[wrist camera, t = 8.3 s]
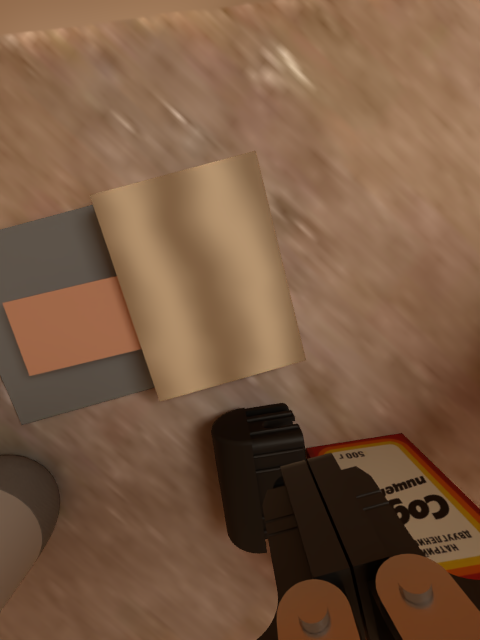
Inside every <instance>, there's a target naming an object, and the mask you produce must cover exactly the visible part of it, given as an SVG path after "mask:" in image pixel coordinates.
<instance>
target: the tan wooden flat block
mask: <svg viewBox="0 0 480 640" xmlns="http://www.w3.org/2000/svg"><path fill="white" fill-rule="evenodd" d="M90 198H91V201H92V204H93V207H94V210H95V213H96V216H97V219H98V221H99V224H100V227H101V230H102V233H103V236H104V239H105V242H106V245H107V248H108V251H109V254H110V257H111V260H112V263H113V266H114V269H115V272H116V275H117V277H118V280H119V283H120V286H121V289H122V292H123V295H124V298H125V301H126V304H127V307H128V310H129V313H130V316H131V319H132V322H133V325H134V328H135V331H136V333H137V336H138V339H139V342H140V345H141V348H142V351H143V354H144V357H145V360H146V363H147V366H148V369H149V372H150V375H151V378H152V381H153V384H154V386H155V389H156V392H157V395H158V398H159V401H164V400H168V399H171V398H175V397H178V396H182V395H185V394H189V393H192V392H196V391H199V390H203V389H206V388H210V387H213V386H217V385H221V384H224V383H228V382H231V381H235V380H238V379H242V378H245V377H249V376H252V375H256V374H259V373H263V372H266V371H270V370H273V369H277V368H281V367H284V366H288V365H291V364H295V363H298V362H302V361H305V360H306V358H305V354H304V350H303V346H302V341H301V337H300V333H299V329H298V325H297V321H296V316H295V312H294V308H293V304H292V300H291V296H290V291H289V287H288V283H287V279H286V275H285V271H284V267H283V262H282V258H281V254H280V250H279V246H278V242H277V237H276V233H275V229H274V225H273V221H272V217H271V212H270V208H269V204H268V200H267V196H266V192H265V187H264V183H263V179H262V175H261V171H260V167H259V162H258V158H257V154H256V151H253V152H249V153H245V154H242V155H238V156H234V157H230V158H227V159H223V160H219V161H216V162H212V163H208V164H204V165H201V166H197V167H193V168H190V169H186V170H182V171H178V172H175V173H171V174H167V175H164V176H160V177H156V178H152V179H149V180H145V181H141V182H138V183H134V184H130V185H126V186H123V187H119V188H115V189H111V190H108V191H104V192H100V193H97V194H93V195H90Z"/></svg>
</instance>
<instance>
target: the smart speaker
mask: <svg viewBox="0 0 480 640" xmlns="http://www.w3.org/2000/svg"><path fill="white" fill-rule="evenodd" d="M59 508H60V496H59V490H58V487H57V484H56V482H55V480H54V478H53V477H52V475H51V474H50V473H49V472H48V470H46V469H45V468H44V467H43V466H42V465H40V464H39V463H37V462H35V461H33V460H31V459H29V458H26V457H22V456H16V455H2V456H0V612H1V610H2V609H3V608H4V606H5V605H6V603H7V602H8V600H9V599H10V597H11V596H12V595H13V593H14V592H15V590H16V589H17V587H18V586H19V584H20V583H21V582H22V580H23V579H24V577H25V576H26V574H27V573H28V571H29V570H30V569H31V567H32V566H33V564H34V563H35V561H36V560H37V558H38V557H39V555H40V553H41V552H42V550H43V549H44V547H45V545H46V544H47V542H48V540H49V538H50V536H51V534H52V532H53V530H54V527H55V525H56V522H57V518H58V514H59Z"/></svg>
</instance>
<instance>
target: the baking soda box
mask: <svg viewBox="0 0 480 640" xmlns="http://www.w3.org/2000/svg"><path fill="white" fill-rule="evenodd" d="M306 450H307V459H309V458H313V457H317V456H320V455H324V454H328V453H332V454H333V456H334V458H335V459H336V461H337V463H338V465H339V467H340V468H341V470H343V469H347V468H350V467H354V466H357V467H358V468H360V469H361V470H363V471H364V472H366V473H368V474H369V475H371V476H372V478H373V479H374V481H375V482H376V484H377V485H378V487H379V488H380V490H381V493H383V494H384V496H385V497H386V499H387V500H388V502H389V505H391V506H392V508H393V509H394V511H395V512H396V514H397V515H398V517H399V518H400V520H401V521H402V523H403V524H404V526H405V527H406V529H407V530H408V532H409V533H410V535H411V536H412V538H413V539H414V541H415V542H416V543H417V545H418V546H419V548H420V549H421V551H422V552H423V554H424V555H425V556H426V557H427V558H429V559H431V560H433V561H435V562H436V563H438V564H439V565H441V566H442V567H443V568H444V569H445V570H446V571H447V572H448V573H450V574H453V575H456V576H459V577H463V578H467V579H475V580H480V509H479V508H478V507H477V506H476V505H475V504H474V503H473V502H472V501H471V500H470V499H469V498H468V497H467V496H466V495H465V494H464V493H463V492H462V491H461V490H460V489H459V488H458V487H457V486H456V485H455V484H454V483H452V482H451V481H450V480H449V479H448V478H447V477H446V476H445V475H444V474H443V473H442V472H441V471H440V470H439V469H438V468H437V467H436V466H435V465H434V464H433V463H432V462H431V461H430V460H429V459H428V458H427V457H426V456H425V455H424V454H423V453H422V452H421V451H420V450H419V449H418V448H417V447H416V446H415V445H414V444H413V443H411V442H410V441H409V440H408V439H407V438H406V437H405V436H404V435H403V434H402V433H400V434H394V435H387V436H381V437H375V438H368V439H362V440H355V441H349V442H343V443H336V444H330V445H323V446H317V447H311V448H306ZM366 640H367V639H366Z"/></svg>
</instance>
